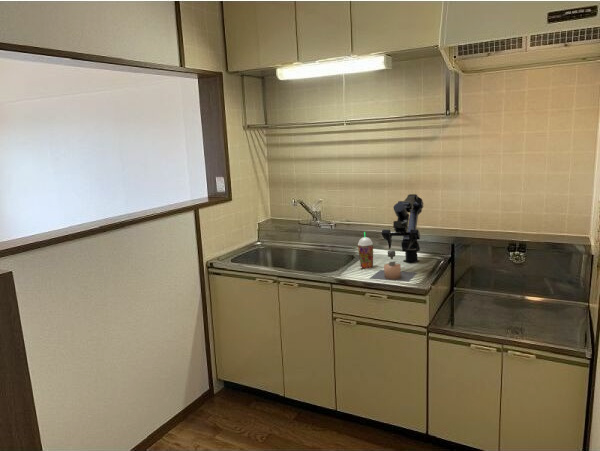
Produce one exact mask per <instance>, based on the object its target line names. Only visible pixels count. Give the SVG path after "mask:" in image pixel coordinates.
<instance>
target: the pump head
mask: <svg viewBox="0 0 600 451" xmlns="http://www.w3.org/2000/svg"><path fill="white" fill-rule="evenodd" d="M387 257H389V258H390V260H394V258H395V257H396V250H393V249H392V250H390V249H389V250H387Z"/></svg>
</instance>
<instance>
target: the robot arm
mask: <svg viewBox="0 0 600 451" xmlns="http://www.w3.org/2000/svg"><path fill="white" fill-rule="evenodd" d="M423 208H424V201H423V199H422V198H421V197H419V196H418V194H416V193H411V194H410V193H409V194H407V197H406V198H405V199H404V200H398V201H397V202H396V203H395V204H394V206H393V208H392V209H393V211H394V213H395V216H396V217H397V218H396V220H394V221H393V224H392V226H393V230H394V231H391V229H390V228H389V229H385V228H384V229H382V230H381V236H382V238H383V239H384V240H385V241H387V243H388V244H387V245H388V249H389V250H390V249H391V248H392V241H393V239H392V238H393V237H402V240H401V249H402V252H405V254H404V255H405V259H404V260H403V262H405V263H408V264H414V263H417V262H420V260H419V259H418V252H420V251H421V247H420V244H419V241H418V240H420V239H421V233H420V230H419V229H417V227H418V221H419V220H418V219H419V215H420V214H421V213H422V211H423Z"/></svg>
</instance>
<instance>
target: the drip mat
mask: <svg viewBox="0 0 600 451" xmlns="http://www.w3.org/2000/svg"><path fill="white" fill-rule="evenodd" d="M418 273H419V272H417V271H402V270H401V278H399V279H386V278H385V276H384V269H380V270H379V271H378V270H377V272H375V274H373V275H371V276H370V277H369V278H368V279H369V280H380V281H381V280H382V281H395V282H396V281H397V282H411V280H412V279H413V278H414V277H415V276H416V275H417V274H418Z"/></svg>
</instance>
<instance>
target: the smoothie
mask: <svg viewBox="0 0 600 451" xmlns="http://www.w3.org/2000/svg"><path fill="white" fill-rule="evenodd" d="M357 249H358V256H359V257H358V258H359V264H360V266H359V267H361V269H362V268H363V269H362V270H364V269H371V268H373V266H374V242H373V241H372V239H371V238H370V237H367V236H366V231H364V232H363V237H361V238H360V239H359V240H358V243H357Z"/></svg>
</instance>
